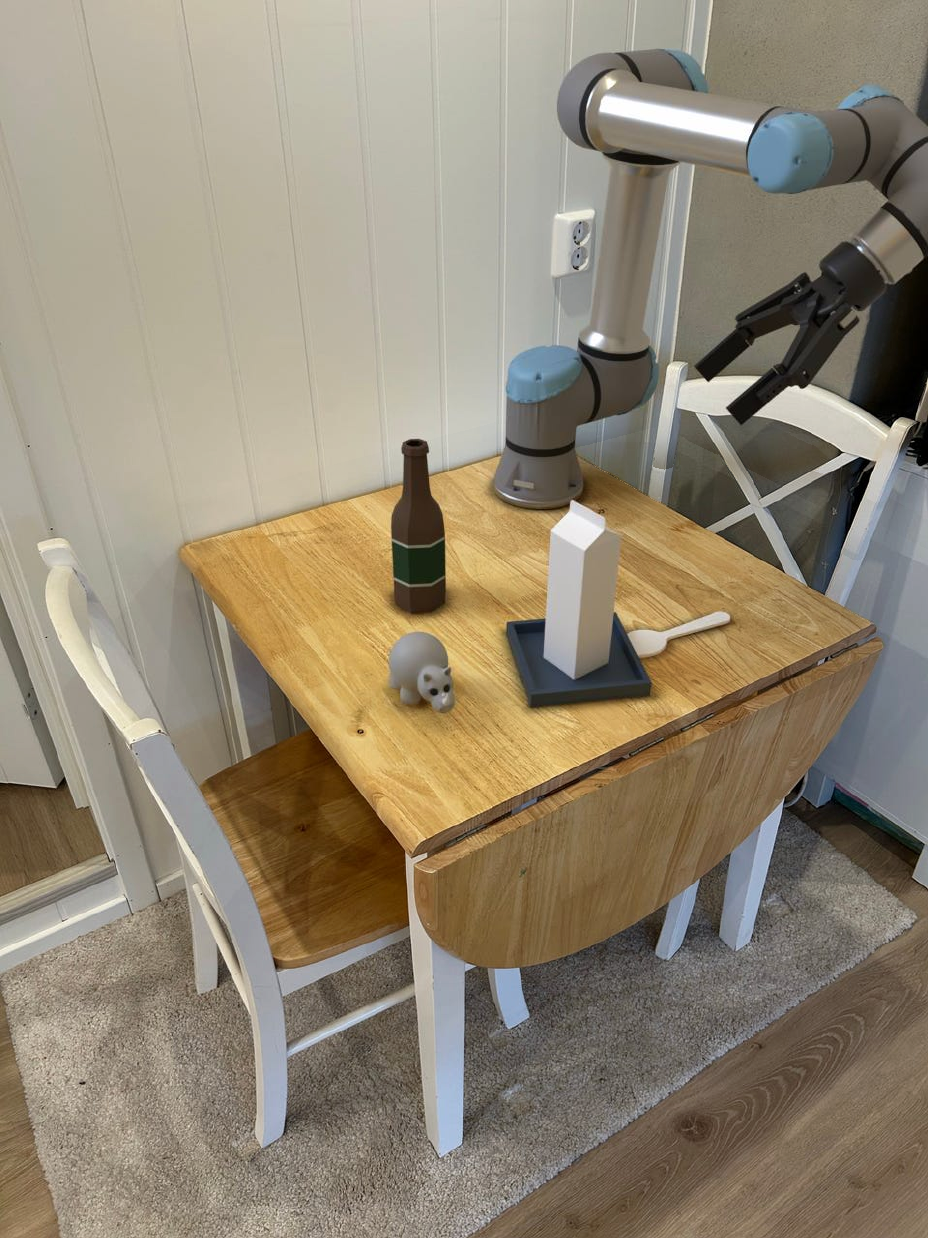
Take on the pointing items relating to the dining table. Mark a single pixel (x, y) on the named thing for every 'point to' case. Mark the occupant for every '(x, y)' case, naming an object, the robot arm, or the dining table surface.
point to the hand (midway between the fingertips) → (716, 394)
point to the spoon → (672, 634)
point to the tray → (557, 688)
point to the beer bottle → (418, 537)
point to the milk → (581, 591)
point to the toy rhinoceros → (421, 671)
